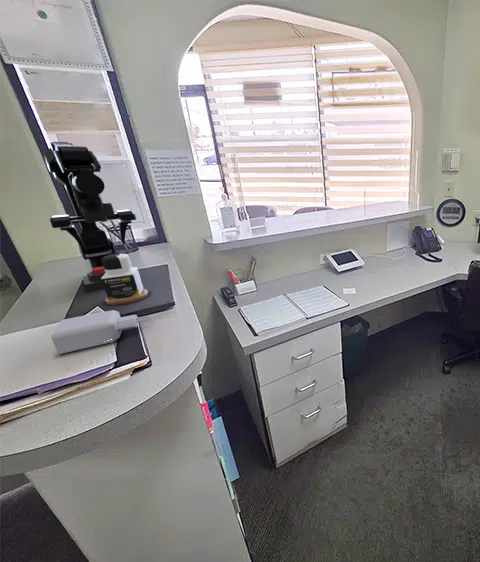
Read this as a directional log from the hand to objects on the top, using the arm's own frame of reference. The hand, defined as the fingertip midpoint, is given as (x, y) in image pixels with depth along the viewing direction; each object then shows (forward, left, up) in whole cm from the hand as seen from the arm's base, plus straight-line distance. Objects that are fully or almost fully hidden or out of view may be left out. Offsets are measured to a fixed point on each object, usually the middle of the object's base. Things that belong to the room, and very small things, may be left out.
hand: (104, 246), depth 94 cm
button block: (-6, -3, -13) cm, 15 cm away
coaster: (+14, +1, -13) cm, 19 cm away
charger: (+38, -5, -13) cm, 41 cm away
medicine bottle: (+14, +1, -12) cm, 19 cm away
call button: (-6, -3, -9) cm, 12 cm away
